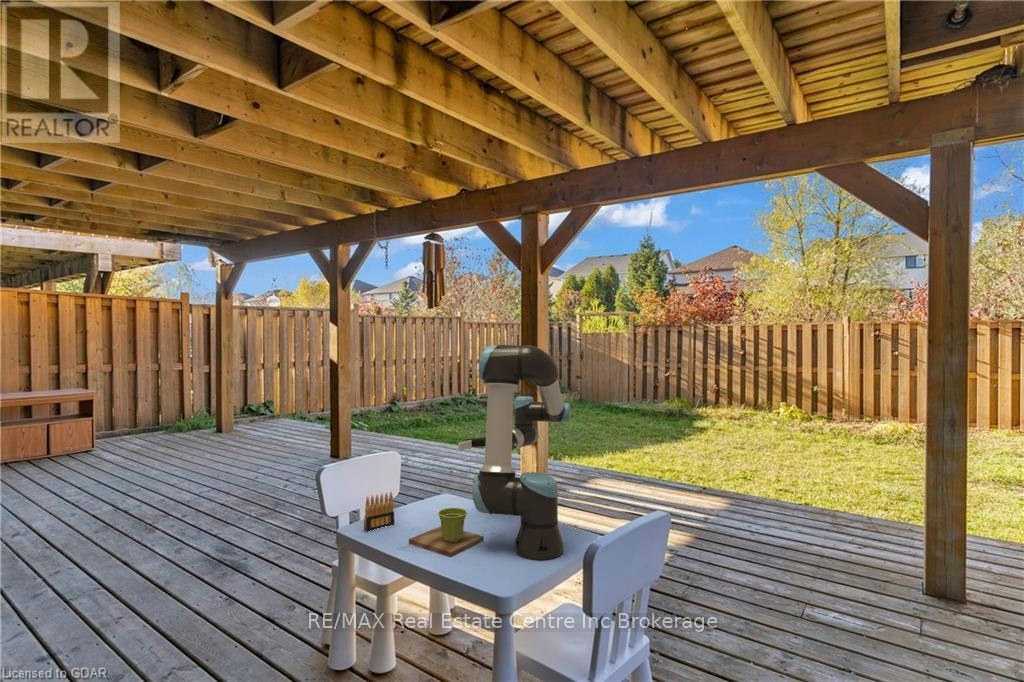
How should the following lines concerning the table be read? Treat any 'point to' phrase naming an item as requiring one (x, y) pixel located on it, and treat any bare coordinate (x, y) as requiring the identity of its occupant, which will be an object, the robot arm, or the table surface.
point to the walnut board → (445, 542)
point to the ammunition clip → (379, 513)
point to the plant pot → (452, 523)
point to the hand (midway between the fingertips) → (473, 449)
